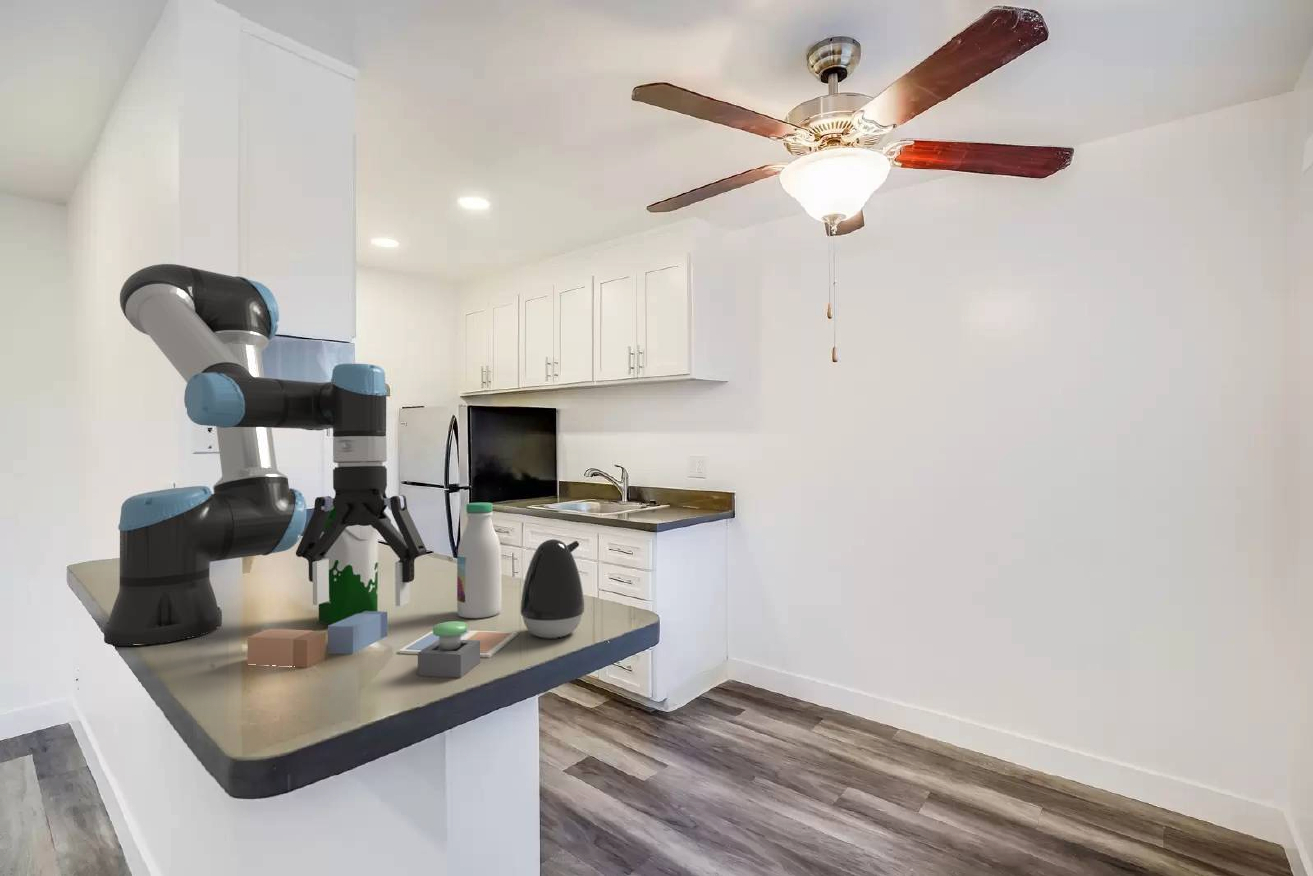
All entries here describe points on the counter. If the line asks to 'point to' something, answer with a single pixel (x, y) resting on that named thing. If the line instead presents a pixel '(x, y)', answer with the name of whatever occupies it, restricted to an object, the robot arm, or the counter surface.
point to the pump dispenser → (552, 591)
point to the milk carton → (351, 573)
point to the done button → (449, 634)
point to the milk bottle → (479, 565)
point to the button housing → (449, 659)
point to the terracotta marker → (286, 648)
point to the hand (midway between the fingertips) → (361, 603)
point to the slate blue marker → (357, 632)
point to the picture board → (488, 639)
